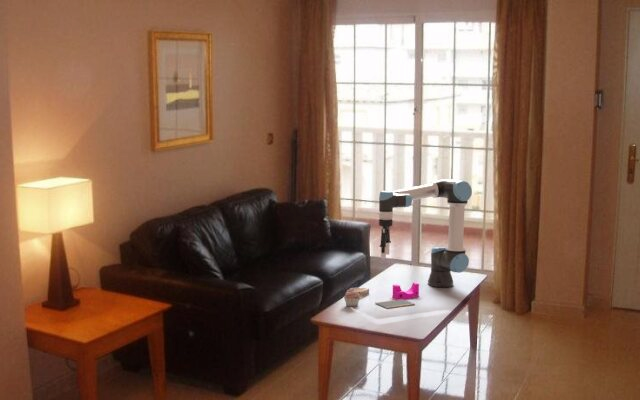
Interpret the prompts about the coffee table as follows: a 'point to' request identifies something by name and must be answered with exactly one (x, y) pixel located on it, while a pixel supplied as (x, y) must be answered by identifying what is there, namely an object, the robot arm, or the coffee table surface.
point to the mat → (394, 303)
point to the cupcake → (352, 298)
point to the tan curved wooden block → (362, 291)
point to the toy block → (405, 292)
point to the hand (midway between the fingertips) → (385, 256)
